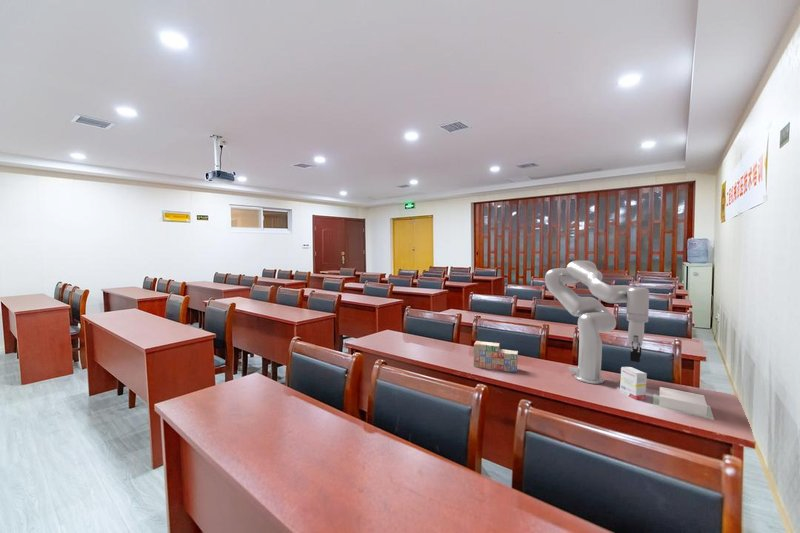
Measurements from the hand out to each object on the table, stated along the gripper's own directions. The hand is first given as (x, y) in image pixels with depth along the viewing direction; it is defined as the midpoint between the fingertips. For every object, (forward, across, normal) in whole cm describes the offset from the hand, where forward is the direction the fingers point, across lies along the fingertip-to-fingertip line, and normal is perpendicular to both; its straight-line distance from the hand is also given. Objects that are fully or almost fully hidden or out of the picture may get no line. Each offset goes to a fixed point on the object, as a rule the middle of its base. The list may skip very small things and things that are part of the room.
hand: (635, 358), depth 147 cm
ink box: (+17, 0, -1) cm, 17 cm away
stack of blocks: (+16, 0, -60) cm, 62 cm away
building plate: (+17, 0, +15) cm, 23 cm away
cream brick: (+16, 0, +15) cm, 22 cm away
